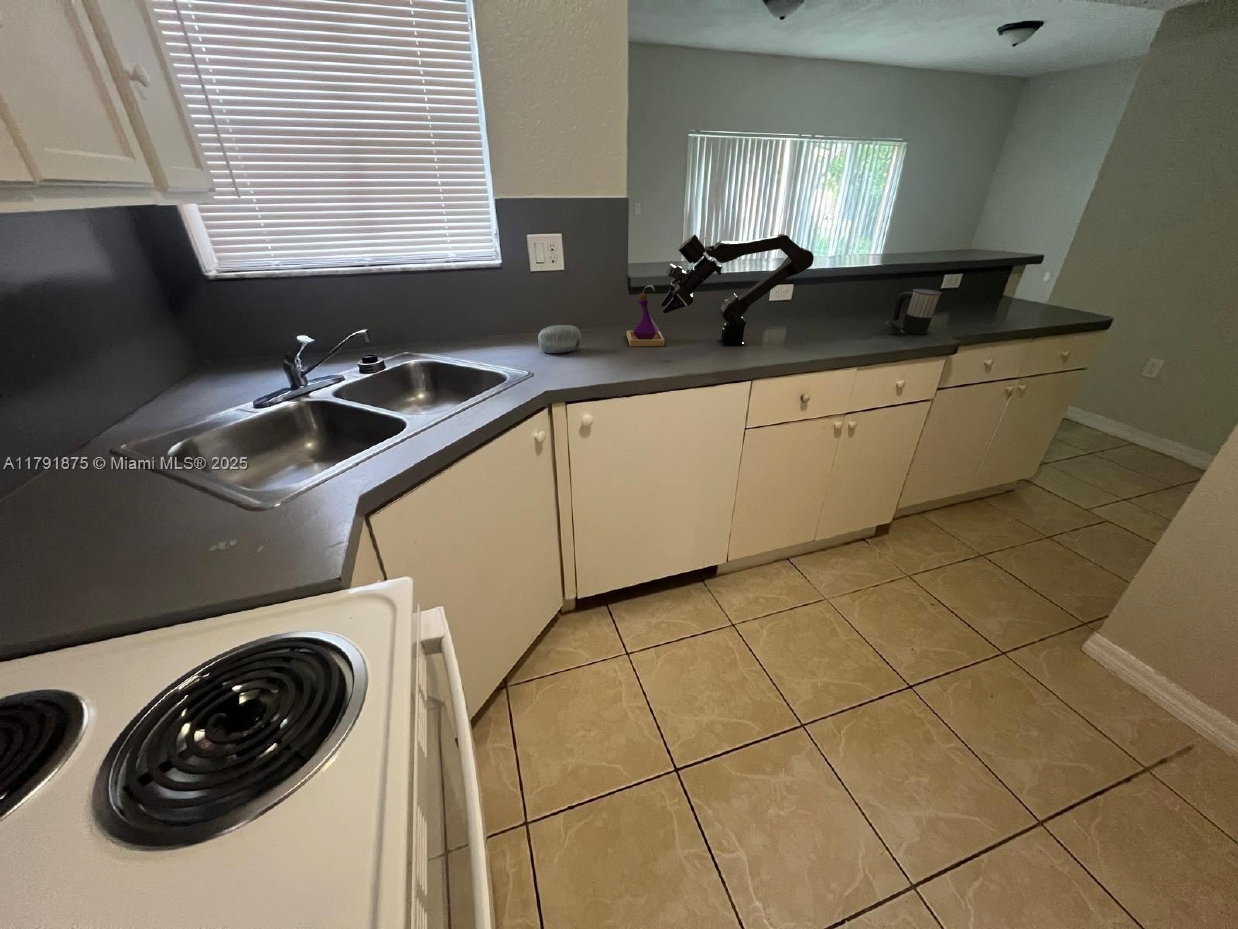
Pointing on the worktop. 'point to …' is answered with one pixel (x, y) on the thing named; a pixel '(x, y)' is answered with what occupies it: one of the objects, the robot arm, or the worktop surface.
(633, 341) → the wooden tray
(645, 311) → the perfume bottle
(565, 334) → the grey rounded pouf
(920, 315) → the milk frother
